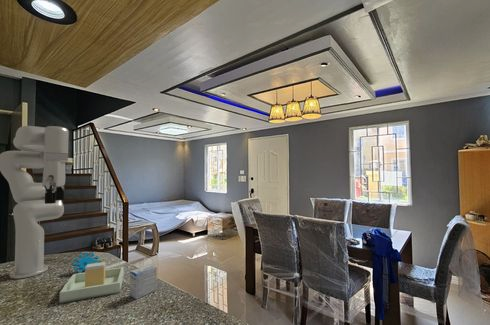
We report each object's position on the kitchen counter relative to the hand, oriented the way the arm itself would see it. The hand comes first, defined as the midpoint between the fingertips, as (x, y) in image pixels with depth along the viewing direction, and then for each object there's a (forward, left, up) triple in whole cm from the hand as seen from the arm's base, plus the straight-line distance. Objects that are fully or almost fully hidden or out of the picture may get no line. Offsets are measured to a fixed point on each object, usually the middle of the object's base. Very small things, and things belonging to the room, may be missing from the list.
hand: (54, 201), depth 94 cm
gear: (-11, +9, -33) cm, 36 cm away
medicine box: (+20, +32, -33) cm, 50 cm away
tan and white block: (+8, +15, -32) cm, 36 cm away
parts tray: (+8, +15, -33) cm, 37 cm away
